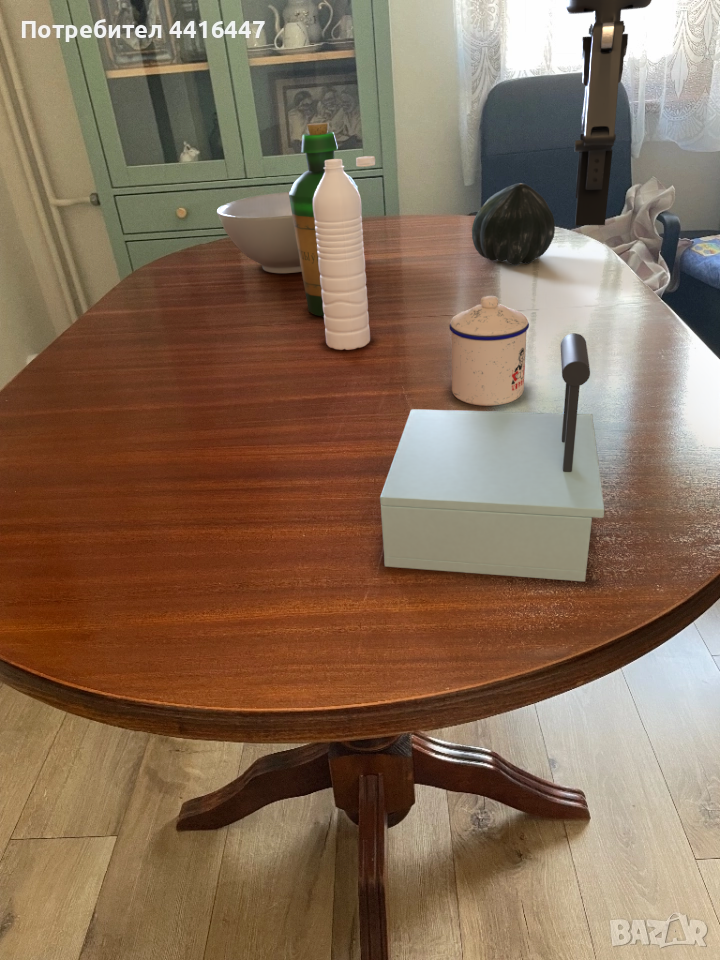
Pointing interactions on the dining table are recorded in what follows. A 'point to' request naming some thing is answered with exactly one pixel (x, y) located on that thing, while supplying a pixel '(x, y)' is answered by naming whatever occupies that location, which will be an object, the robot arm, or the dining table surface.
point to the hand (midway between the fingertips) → (588, 210)
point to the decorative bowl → (263, 231)
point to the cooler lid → (503, 456)
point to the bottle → (311, 208)
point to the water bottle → (342, 257)
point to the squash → (513, 226)
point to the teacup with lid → (488, 353)
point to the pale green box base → (486, 542)
